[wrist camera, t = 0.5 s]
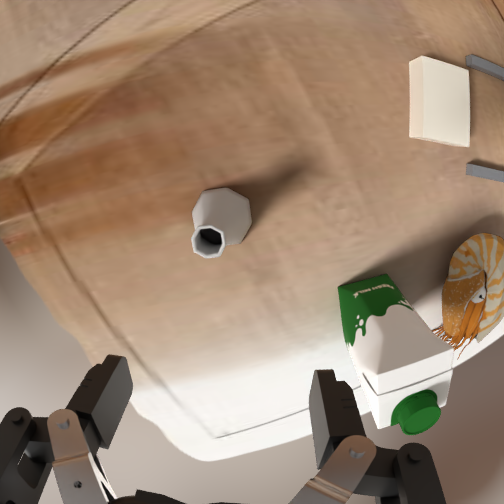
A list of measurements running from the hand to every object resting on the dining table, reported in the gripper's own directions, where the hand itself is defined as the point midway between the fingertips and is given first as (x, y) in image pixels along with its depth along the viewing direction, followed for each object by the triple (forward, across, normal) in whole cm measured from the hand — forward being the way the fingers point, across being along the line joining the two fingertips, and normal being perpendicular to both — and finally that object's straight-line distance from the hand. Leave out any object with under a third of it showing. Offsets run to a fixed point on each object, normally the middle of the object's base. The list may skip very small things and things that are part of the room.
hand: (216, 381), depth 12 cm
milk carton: (+27, -16, +11) cm, 33 cm away
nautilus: (+27, -31, +10) cm, 42 cm away
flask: (+27, +3, 0) cm, 27 cm away
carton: (+28, -23, -16) cm, 39 cm away
